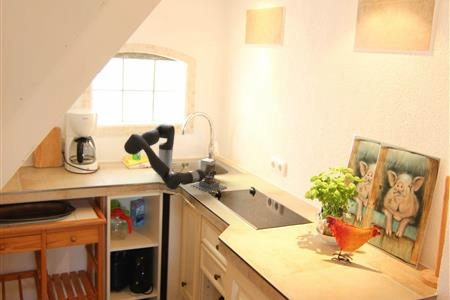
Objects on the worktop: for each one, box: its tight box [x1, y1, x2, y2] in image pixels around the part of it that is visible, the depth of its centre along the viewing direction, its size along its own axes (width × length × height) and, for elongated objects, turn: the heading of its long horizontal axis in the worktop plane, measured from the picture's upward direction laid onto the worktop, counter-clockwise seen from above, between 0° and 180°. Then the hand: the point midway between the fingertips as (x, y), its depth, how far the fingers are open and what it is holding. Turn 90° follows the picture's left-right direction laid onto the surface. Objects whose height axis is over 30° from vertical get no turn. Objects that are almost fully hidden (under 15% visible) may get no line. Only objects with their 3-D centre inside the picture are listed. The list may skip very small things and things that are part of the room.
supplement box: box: [199, 157, 216, 180], centre depth 311 cm, size 7×7×13 cm
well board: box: [190, 179, 228, 193], centre depth 293 cm, size 16×16×3 cm
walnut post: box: [204, 163, 216, 184], centre depth 292 cm, size 4×4×13 cm
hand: (212, 172), depth 294 cm, fingers closed on walnut post, 4 cm apart
